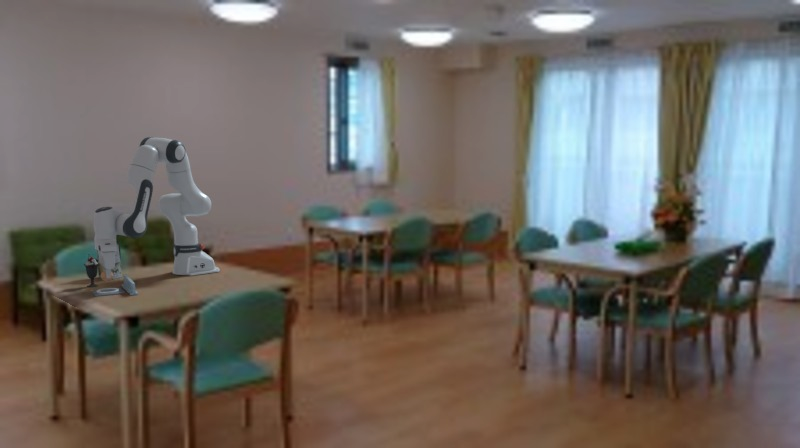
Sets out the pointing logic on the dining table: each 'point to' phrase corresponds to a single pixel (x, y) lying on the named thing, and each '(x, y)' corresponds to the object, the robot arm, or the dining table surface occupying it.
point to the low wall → (129, 285)
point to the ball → (103, 276)
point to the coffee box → (117, 270)
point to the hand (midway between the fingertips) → (107, 276)
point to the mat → (107, 291)
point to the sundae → (92, 270)
